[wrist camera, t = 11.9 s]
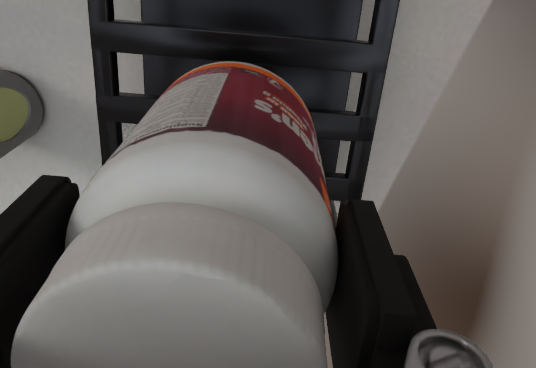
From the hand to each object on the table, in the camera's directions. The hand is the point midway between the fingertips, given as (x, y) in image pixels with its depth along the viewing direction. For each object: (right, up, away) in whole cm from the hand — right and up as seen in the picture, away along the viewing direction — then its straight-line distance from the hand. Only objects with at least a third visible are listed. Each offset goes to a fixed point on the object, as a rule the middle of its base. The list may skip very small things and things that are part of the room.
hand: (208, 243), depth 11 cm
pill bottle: (0, +3, +6) cm, 7 cm away
